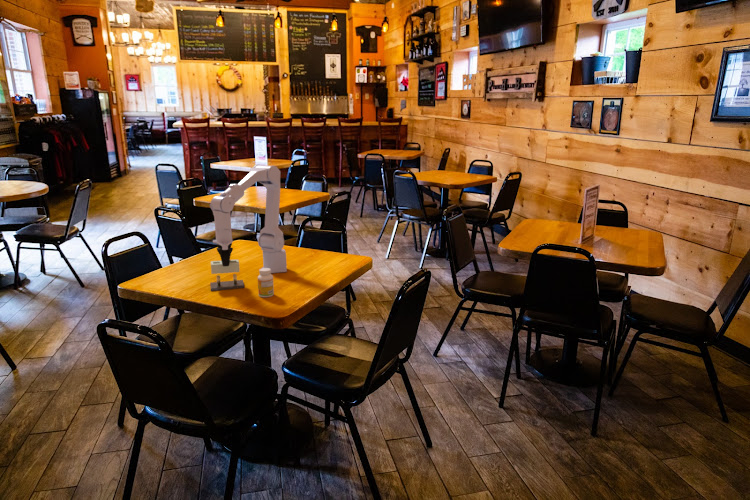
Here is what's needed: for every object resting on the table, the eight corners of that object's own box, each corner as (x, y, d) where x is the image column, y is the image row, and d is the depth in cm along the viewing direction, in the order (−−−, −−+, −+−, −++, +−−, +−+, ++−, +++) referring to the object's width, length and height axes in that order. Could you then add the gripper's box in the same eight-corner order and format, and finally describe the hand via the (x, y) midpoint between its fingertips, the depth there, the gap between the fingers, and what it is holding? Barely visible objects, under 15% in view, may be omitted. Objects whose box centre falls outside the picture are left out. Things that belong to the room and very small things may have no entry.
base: (242, 282, 196) (242, 271, 195) (244, 287, 190) (243, 276, 189) (210, 285, 193) (209, 273, 191) (210, 290, 186) (209, 279, 185)
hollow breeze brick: (238, 268, 193) (238, 259, 192) (239, 271, 189) (239, 263, 188) (211, 270, 190) (210, 261, 189) (211, 273, 186) (210, 264, 185)
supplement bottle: (259, 292, 185) (258, 267, 182) (274, 292, 185) (273, 267, 183) (257, 297, 179) (256, 271, 177) (272, 297, 180) (271, 271, 178)
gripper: (211, 225, 191) (214, 259, 194) (212, 233, 178) (214, 270, 181) (230, 224, 193) (233, 258, 197) (232, 232, 180) (235, 268, 183)
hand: (225, 264), depth 189 cm, fingers closed on hollow breeze brick, 5 cm apart
